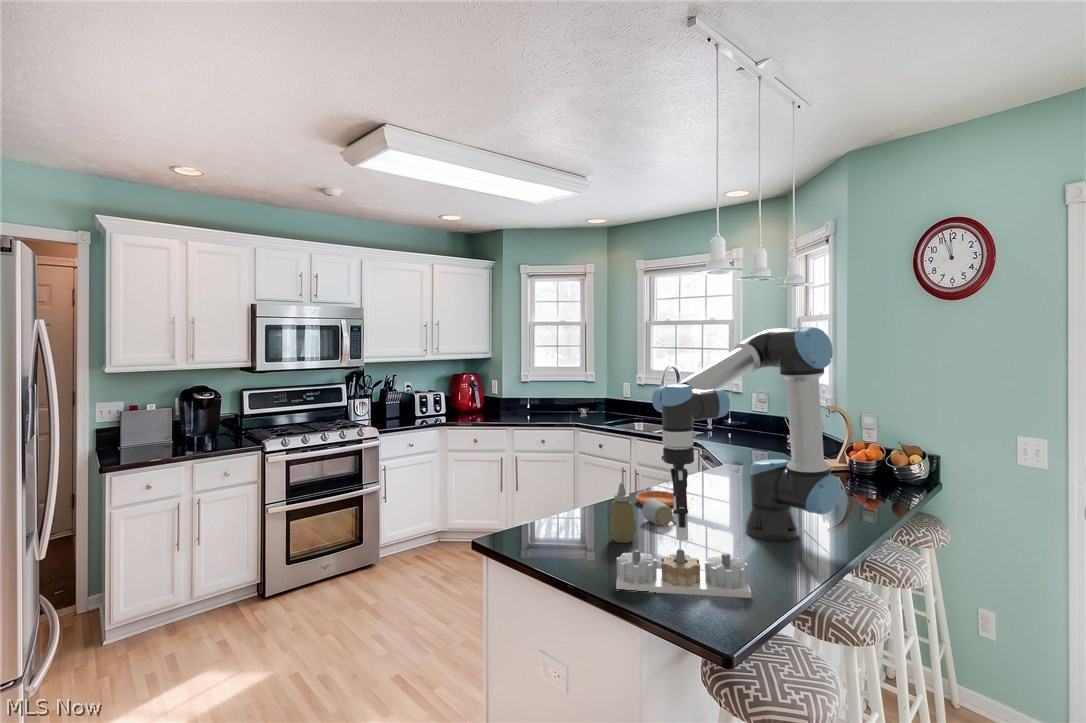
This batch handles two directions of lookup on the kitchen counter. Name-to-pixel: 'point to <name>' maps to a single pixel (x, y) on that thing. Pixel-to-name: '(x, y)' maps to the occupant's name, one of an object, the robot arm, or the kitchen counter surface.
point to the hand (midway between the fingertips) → (680, 530)
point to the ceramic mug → (657, 512)
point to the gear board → (716, 580)
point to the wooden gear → (680, 571)
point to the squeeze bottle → (622, 517)
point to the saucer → (656, 497)
